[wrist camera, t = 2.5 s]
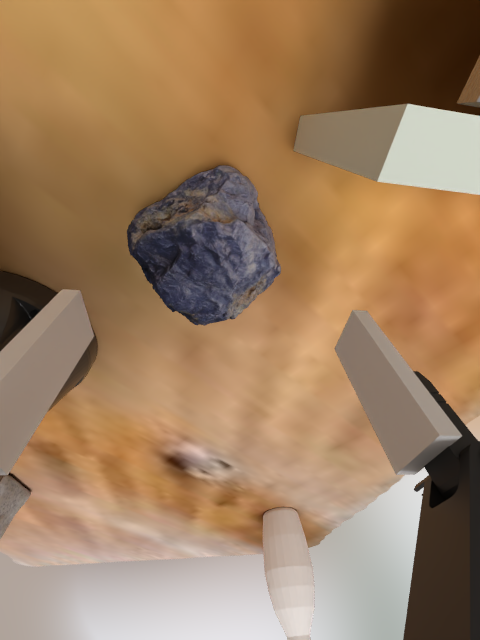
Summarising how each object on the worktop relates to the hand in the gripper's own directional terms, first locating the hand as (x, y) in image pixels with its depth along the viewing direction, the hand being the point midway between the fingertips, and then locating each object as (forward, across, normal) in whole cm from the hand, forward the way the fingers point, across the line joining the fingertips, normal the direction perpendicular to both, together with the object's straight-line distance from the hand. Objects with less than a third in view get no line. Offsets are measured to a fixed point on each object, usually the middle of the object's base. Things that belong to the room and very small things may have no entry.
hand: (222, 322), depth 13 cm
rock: (+12, 0, 0) cm, 12 cm away
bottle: (+12, +20, -72) cm, 76 cm away
